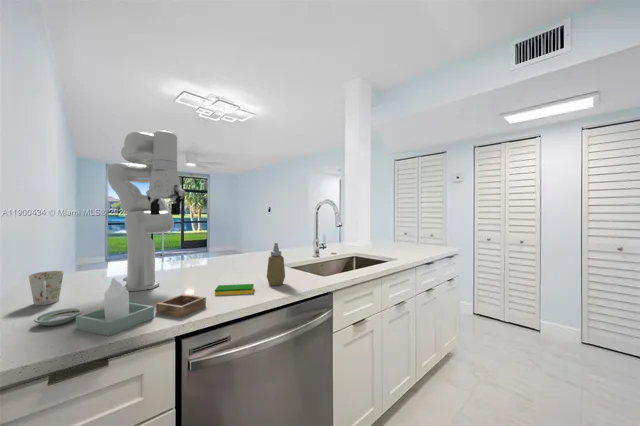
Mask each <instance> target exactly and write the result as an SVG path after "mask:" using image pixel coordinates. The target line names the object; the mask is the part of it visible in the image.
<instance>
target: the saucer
mask: <svg viewBox="0 0 640 426" xmlns="http://www.w3.org/2000/svg"><path fill="white" fill-rule="evenodd" d="M82 311H83V310H82V309H80V308H75V307H74V308H72V307H71V308H63V309H58V310H57V309H56V310H52V311H48V312H45V313H42V314H40V315H38V316H36V317H34V319H33V321H34V322H35V323H37V324H39V325H41V326H49V327H50V326H51V327H53V326H59V325H63V324H67V323H69V322H71V321H72V320H74V319H76V316H79V315H81V314H82V313H83V312H82Z"/></svg>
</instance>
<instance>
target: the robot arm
mask: <svg viewBox="0 0 640 426" xmlns="http://www.w3.org/2000/svg"><path fill="white" fill-rule="evenodd" d="M123 145H124V146H123V147H122V148H121V150H120V154H121V157H122V158H123V159H124V160H125V161H127V162H128V163H126V162H113V163H111V164H109V166H108V167H107V170H106V177H107V180H108V184H109V186H110V187H111V189H112V190H113V192H115V194H116V196H117V197H118V198H119V201H120V205H121V207H122V210H123V211H124V213H125V214H126V215H125V217H124V226H125V227H124V228H125V233H126V239H127V240H126V243H127V244H126V245H127V247H126V248H127V249H126V250H127V255H126V256H127V260H126V261H127V262H126V263H127V266H126V268H127V271H126V272H127V275H126V277H123V279H122V280H123V282H125V284H124V285H123V286H124V287H125V289H126V290H127V291H128V292H139V291H142V292H143V291H148V290H152V289H154V288H155V289H156V288H158V287H159V286H160V281H158V280H156V244H155V241H154V240H153V239H152V238H151V237H150V236H149V234H163V233H164V234H165V233H169V232H170V231H172V230H173V229H174V226H175V221H174V216H179V215H181V205H182V203H183V200H184V199H185V195H186V190H184V189H183V188H182V187H181V184H180V183H181V182H180V181H181V180H180V174H179V171H178V137H177V134H175V133H173V132H172V131H167V130H156V131H155V132H154V133H149V132H141V131H131V132H130V133H127V134H126V136H125V138H124V142H123ZM133 183H137V184H148V185H149V186H148V190H147V191H146V192H145V194H143V193H142V192H141V190H140V188H139V187H138V186H137V185H135V184H133ZM165 199H166V200H169V199H170V200H171V204H170V205H171V206H170V207H171V208H169V207H168V204H167V203H166V201H165ZM147 289H148V290H147Z"/></svg>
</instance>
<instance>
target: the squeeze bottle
mask: <svg viewBox="0 0 640 426" xmlns="http://www.w3.org/2000/svg"><path fill="white" fill-rule="evenodd" d="M285 270H286V268H285V259H284V256H282V251H281V250H280V247H279V244H278V242H274V245H273V250H271V251H270V255H269V257H268V260H267V269H266V279H267V283H268V284H269V286H272V287H273V286H275V287H277V286H282V285H283V284H284V281H285V279H286V271H285Z"/></svg>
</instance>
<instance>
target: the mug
mask: <svg viewBox="0 0 640 426" xmlns="http://www.w3.org/2000/svg"><path fill="white" fill-rule="evenodd" d="M63 277H64V271H63V270H50V271H49V270H47V271H41V272H35V273H30V274H29V275H28V279H29V286H30V291H31V296H32V303H33V306H44V305H49V304H54V303H56V302H59V300H60V296H61V289H62V283H63Z"/></svg>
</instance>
